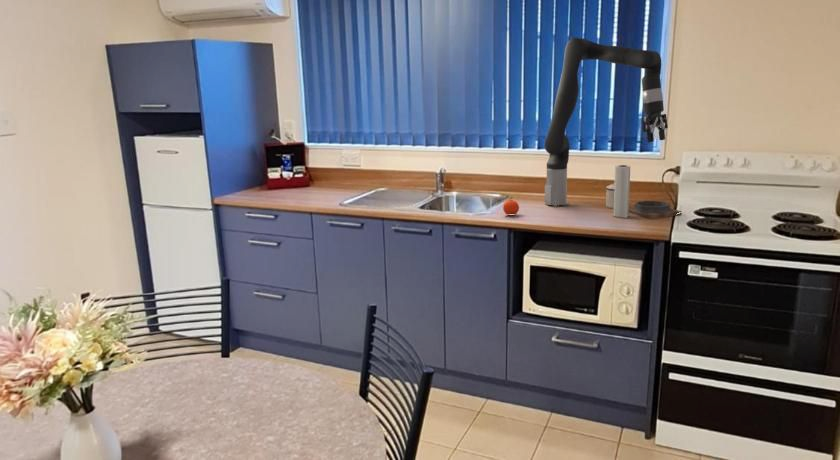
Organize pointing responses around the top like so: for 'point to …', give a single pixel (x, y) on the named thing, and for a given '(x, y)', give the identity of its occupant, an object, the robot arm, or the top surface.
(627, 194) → the tall grey block
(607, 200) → the teacup with lid
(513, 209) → the tomato
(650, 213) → the holder base
